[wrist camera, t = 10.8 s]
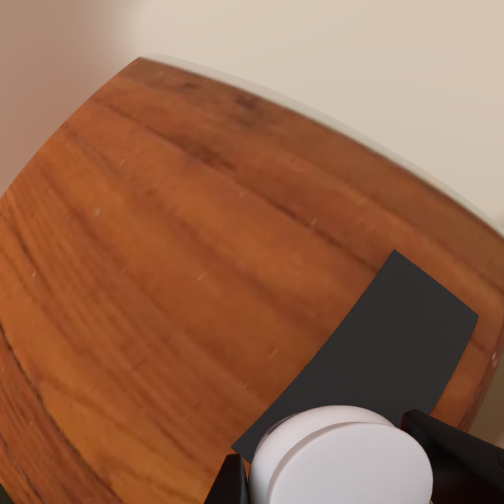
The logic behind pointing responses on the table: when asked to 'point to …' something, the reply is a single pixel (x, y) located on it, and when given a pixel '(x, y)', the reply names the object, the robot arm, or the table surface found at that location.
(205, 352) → the table surface
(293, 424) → the pill bottle
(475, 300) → the table surface
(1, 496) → the green square box
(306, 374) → the mat
